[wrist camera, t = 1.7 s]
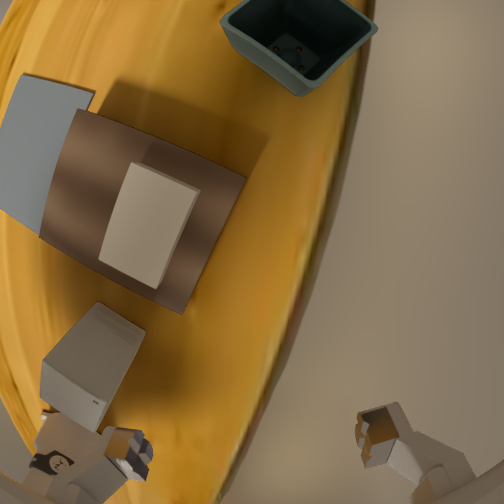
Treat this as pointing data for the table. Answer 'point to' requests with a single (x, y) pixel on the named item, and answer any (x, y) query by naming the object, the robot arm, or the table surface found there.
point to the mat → (34, 144)
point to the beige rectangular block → (147, 223)
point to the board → (106, 193)
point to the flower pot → (297, 38)
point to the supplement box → (90, 365)
